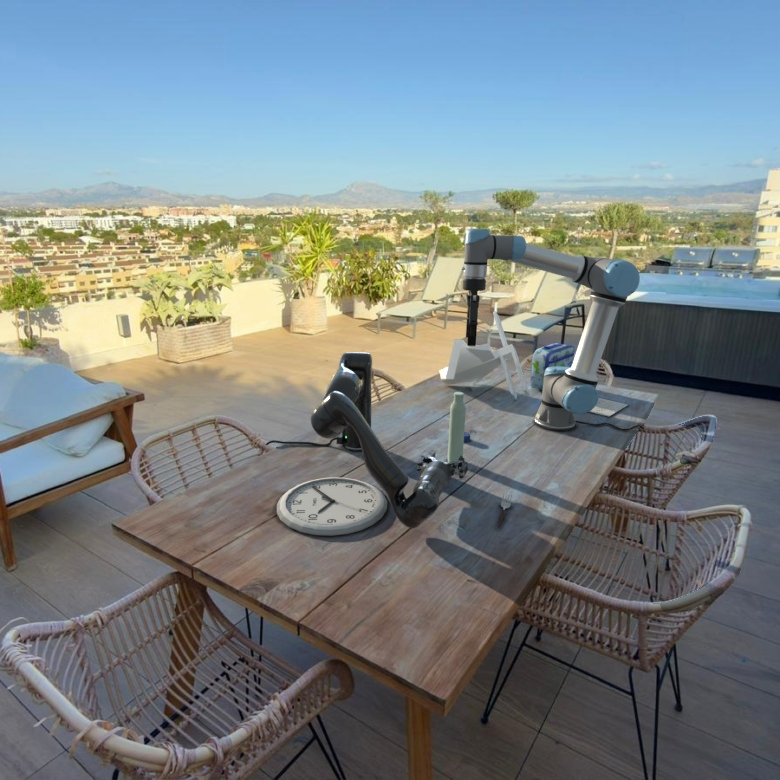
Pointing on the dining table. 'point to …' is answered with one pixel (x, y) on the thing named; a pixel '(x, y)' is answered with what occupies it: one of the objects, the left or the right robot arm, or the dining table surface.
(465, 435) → the cap
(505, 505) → the fork
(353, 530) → the wall clock
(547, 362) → the lunch box
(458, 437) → the bottle
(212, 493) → the dining table surface
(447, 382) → the white plastic object
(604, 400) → the invitation card
